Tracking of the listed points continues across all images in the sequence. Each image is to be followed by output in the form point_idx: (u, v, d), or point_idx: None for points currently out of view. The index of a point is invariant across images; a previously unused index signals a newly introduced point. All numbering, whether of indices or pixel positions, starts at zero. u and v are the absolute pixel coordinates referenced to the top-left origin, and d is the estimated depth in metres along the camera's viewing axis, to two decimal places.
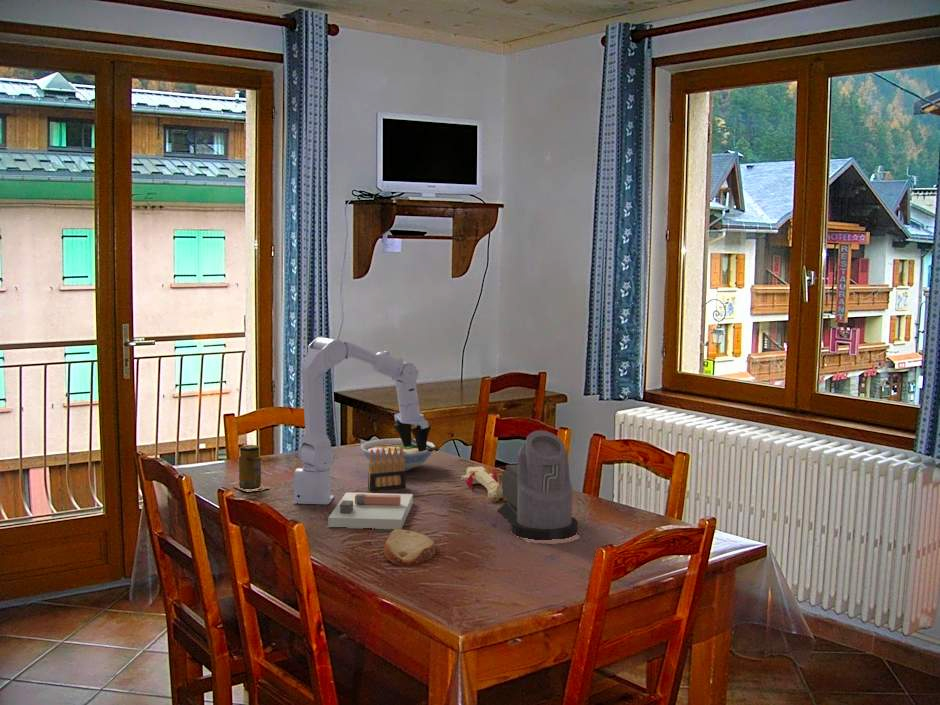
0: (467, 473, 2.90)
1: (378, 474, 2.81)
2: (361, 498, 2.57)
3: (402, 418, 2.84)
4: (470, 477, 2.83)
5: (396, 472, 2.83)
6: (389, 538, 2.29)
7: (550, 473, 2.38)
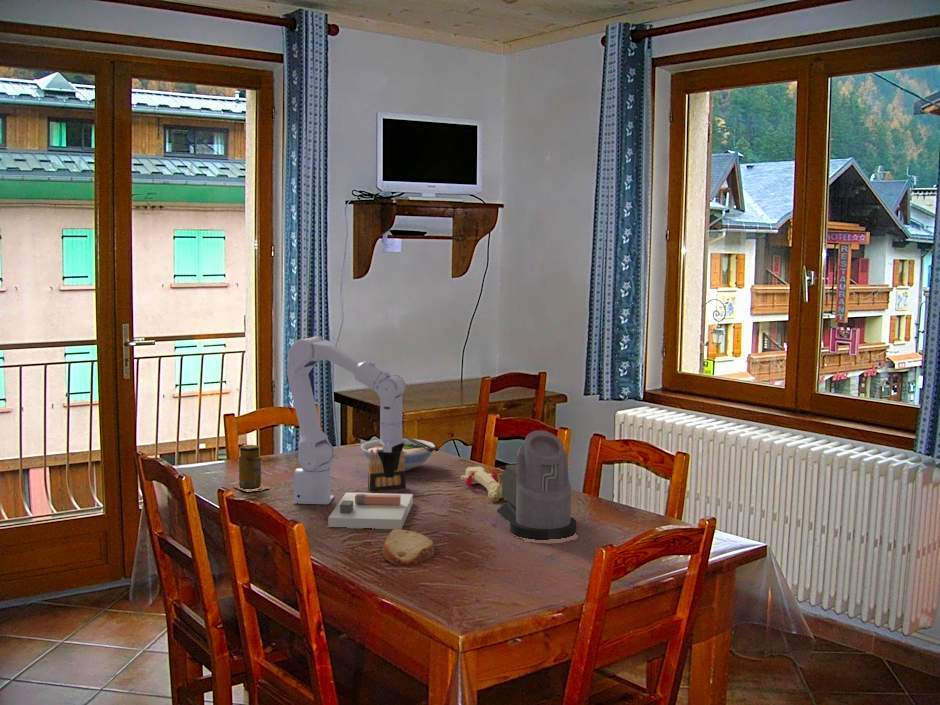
0: (466, 473, 2.90)
1: (378, 474, 2.81)
2: (361, 498, 2.57)
3: (380, 436, 2.61)
4: (470, 477, 2.83)
5: (396, 472, 2.83)
6: (388, 538, 2.29)
7: (549, 473, 2.38)
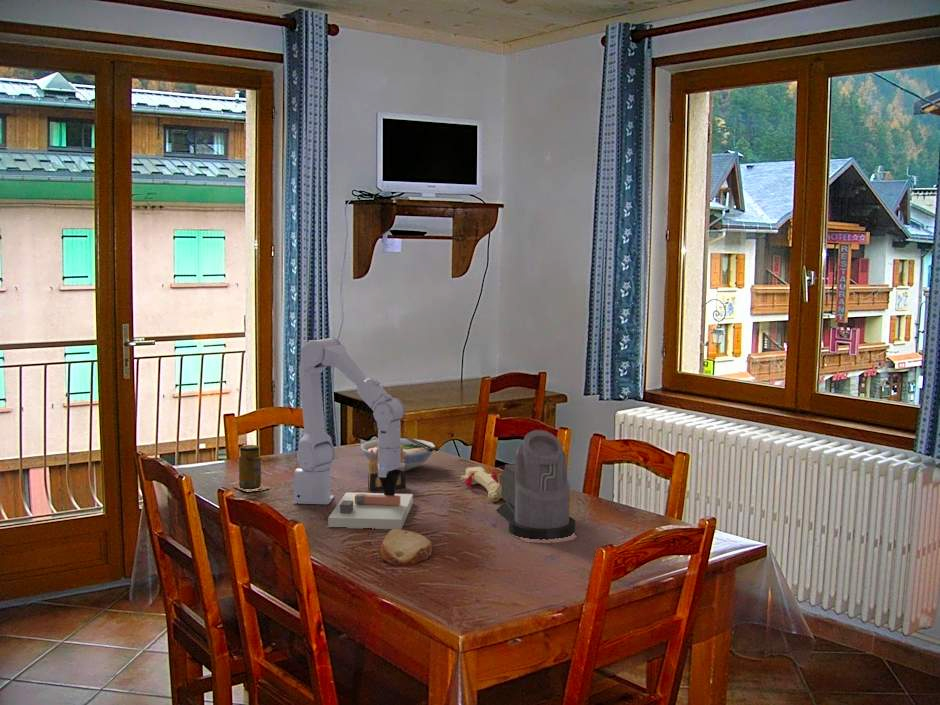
0: (466, 473, 2.89)
1: None
2: (361, 498, 2.57)
3: None
4: (470, 477, 2.82)
5: None
6: (386, 538, 2.29)
7: (547, 473, 2.39)
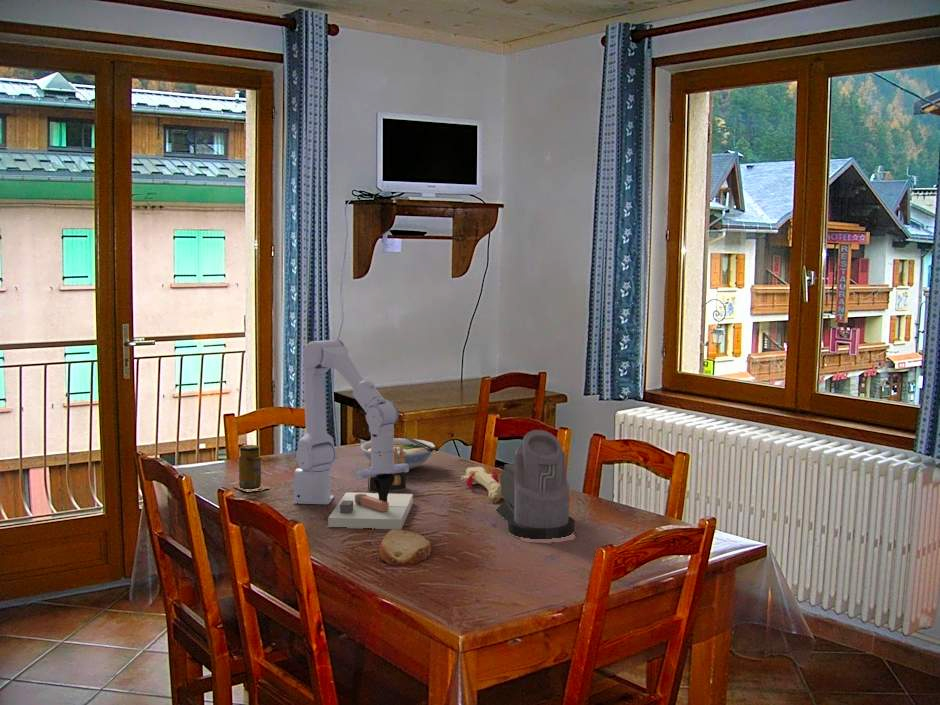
0: (467, 473, 2.89)
1: None
2: (357, 498, 2.57)
3: None
4: (470, 477, 2.82)
5: None
6: (385, 538, 2.29)
7: (547, 472, 2.39)
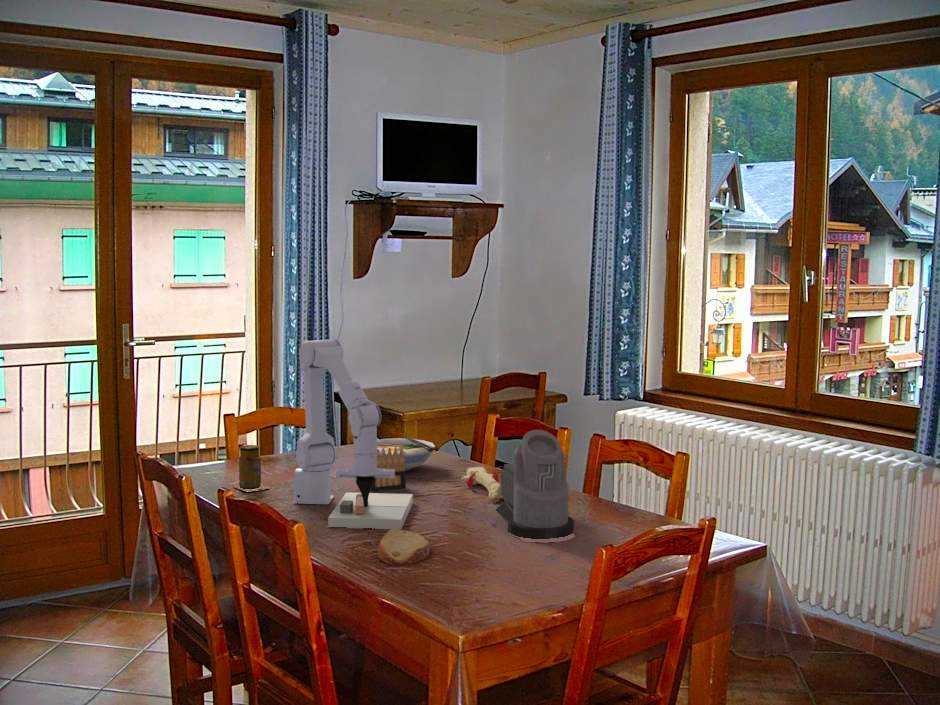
0: (467, 474, 2.89)
1: None
2: (356, 497, 2.58)
3: None
4: (471, 477, 2.82)
5: (396, 472, 2.83)
6: (384, 538, 2.29)
7: (546, 472, 2.39)
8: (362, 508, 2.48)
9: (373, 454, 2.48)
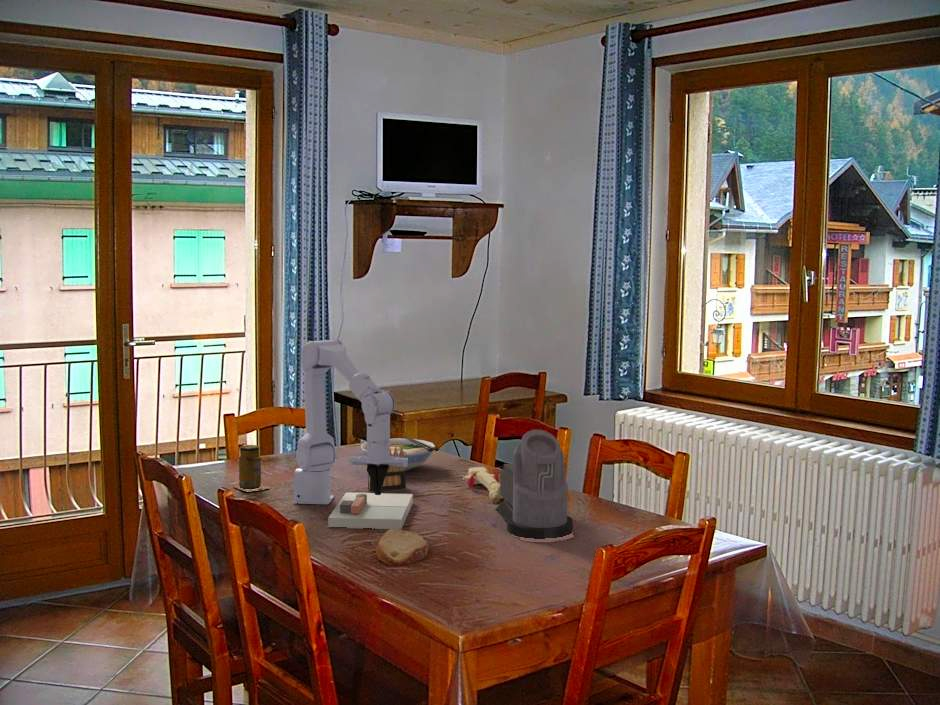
0: (469, 473, 2.89)
1: None
2: None
3: None
4: (471, 477, 2.82)
5: (396, 472, 2.83)
6: (382, 538, 2.30)
7: (545, 472, 2.39)
8: (357, 508, 2.48)
9: (386, 442, 2.47)
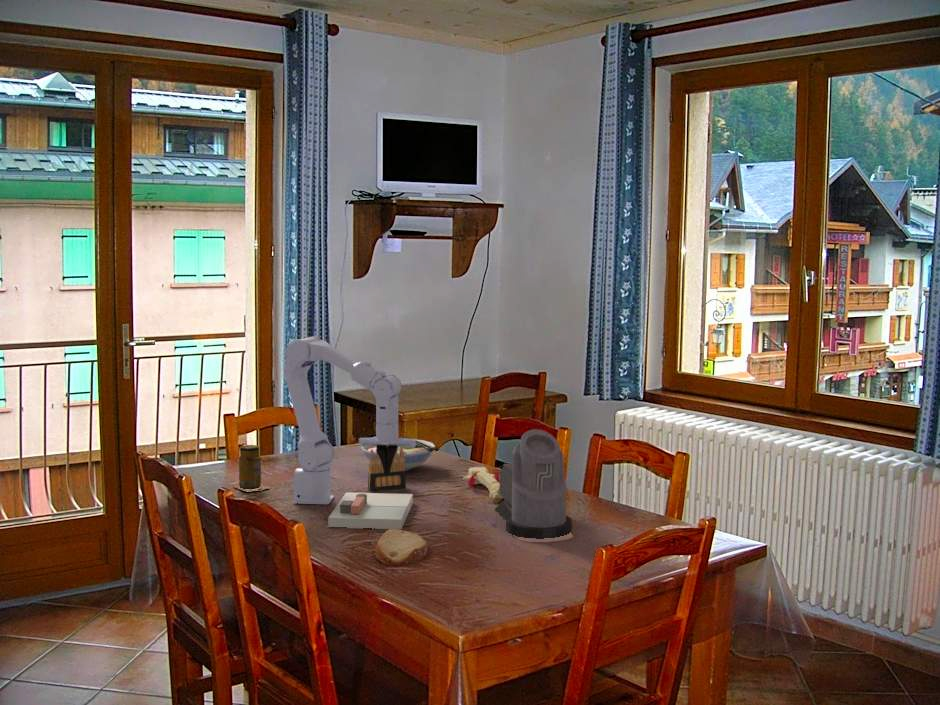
0: (469, 473, 2.89)
1: (378, 474, 2.81)
2: None
3: None
4: (472, 477, 2.82)
5: (396, 472, 2.83)
6: (381, 538, 2.30)
7: (544, 472, 2.39)
8: (357, 508, 2.48)
9: (394, 424, 2.59)
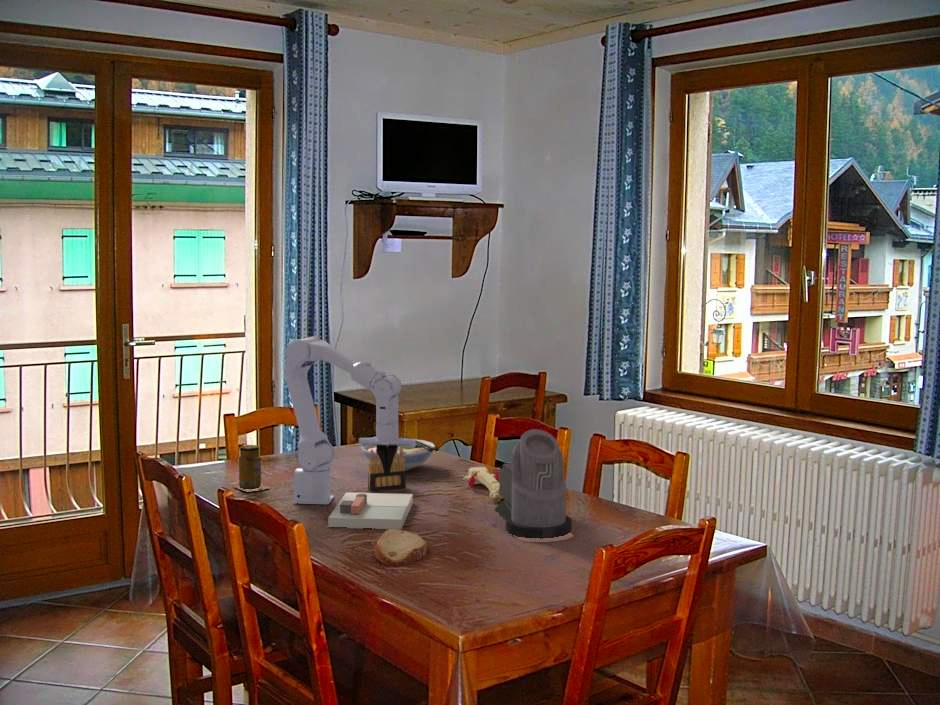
0: (469, 473, 2.89)
1: (378, 474, 2.81)
2: None
3: None
4: (472, 477, 2.82)
5: (396, 472, 2.83)
6: (381, 538, 2.30)
7: (543, 472, 2.40)
8: (357, 508, 2.48)
9: (394, 424, 2.59)
